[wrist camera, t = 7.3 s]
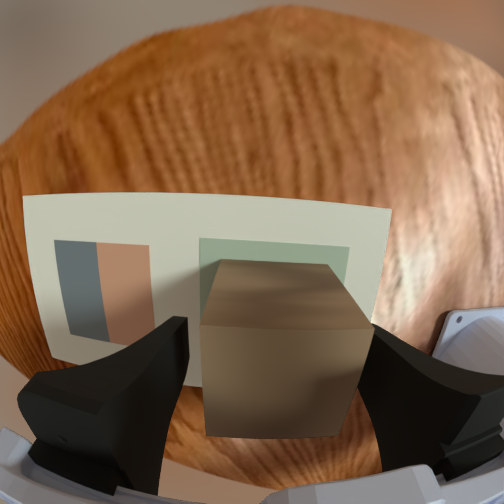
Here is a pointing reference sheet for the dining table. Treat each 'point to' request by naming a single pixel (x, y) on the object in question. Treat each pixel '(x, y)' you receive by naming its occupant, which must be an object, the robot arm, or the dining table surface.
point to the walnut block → (280, 350)
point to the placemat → (177, 259)
